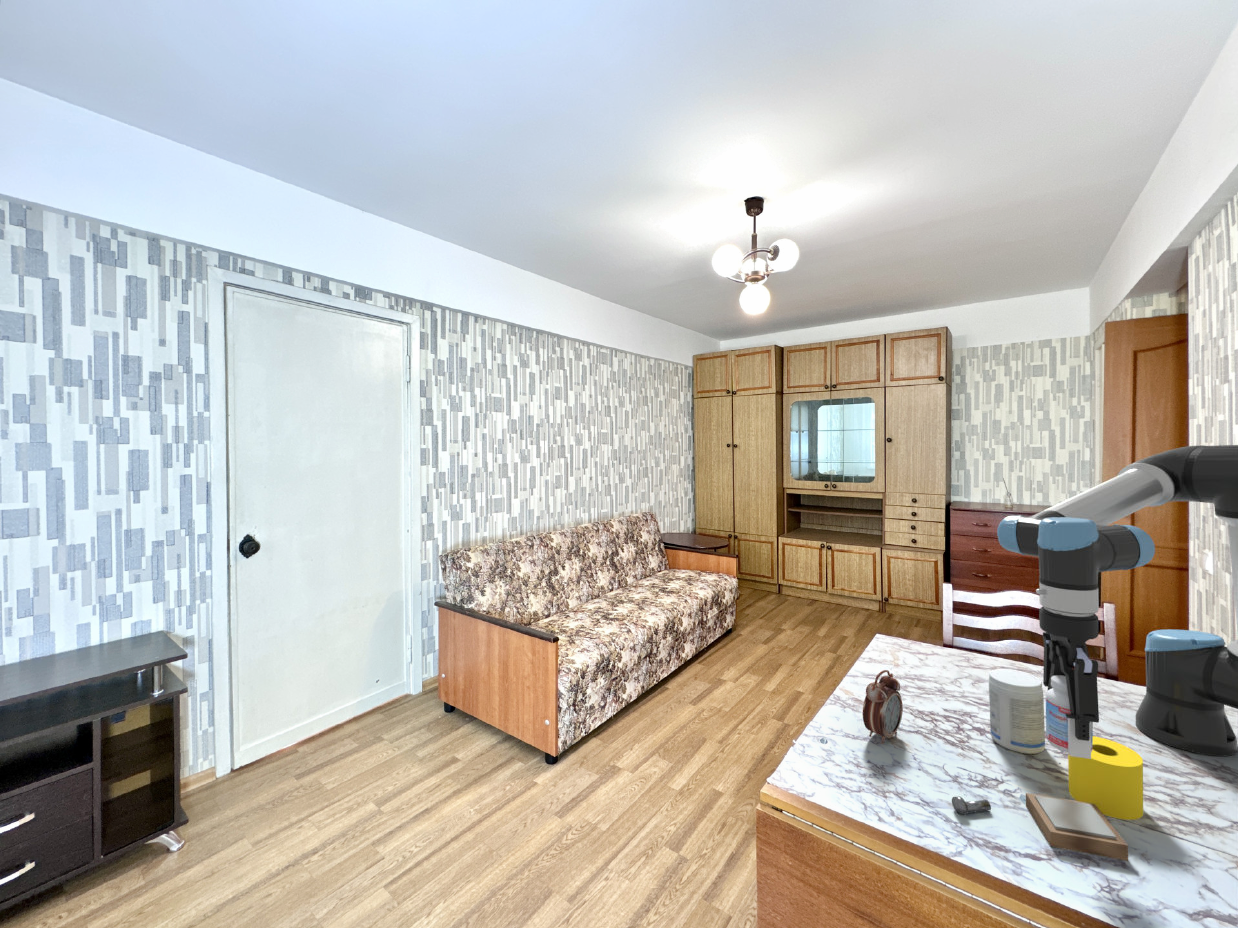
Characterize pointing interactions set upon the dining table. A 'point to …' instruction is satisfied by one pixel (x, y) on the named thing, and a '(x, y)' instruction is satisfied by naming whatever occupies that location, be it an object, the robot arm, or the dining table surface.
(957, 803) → the loose bolt
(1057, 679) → the pill bottle
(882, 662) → the dining table surface
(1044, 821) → the stand
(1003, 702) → the supplement tub
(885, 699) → the alarm clock
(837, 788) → the dining table surface
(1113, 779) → the yellow toilet paper roll
